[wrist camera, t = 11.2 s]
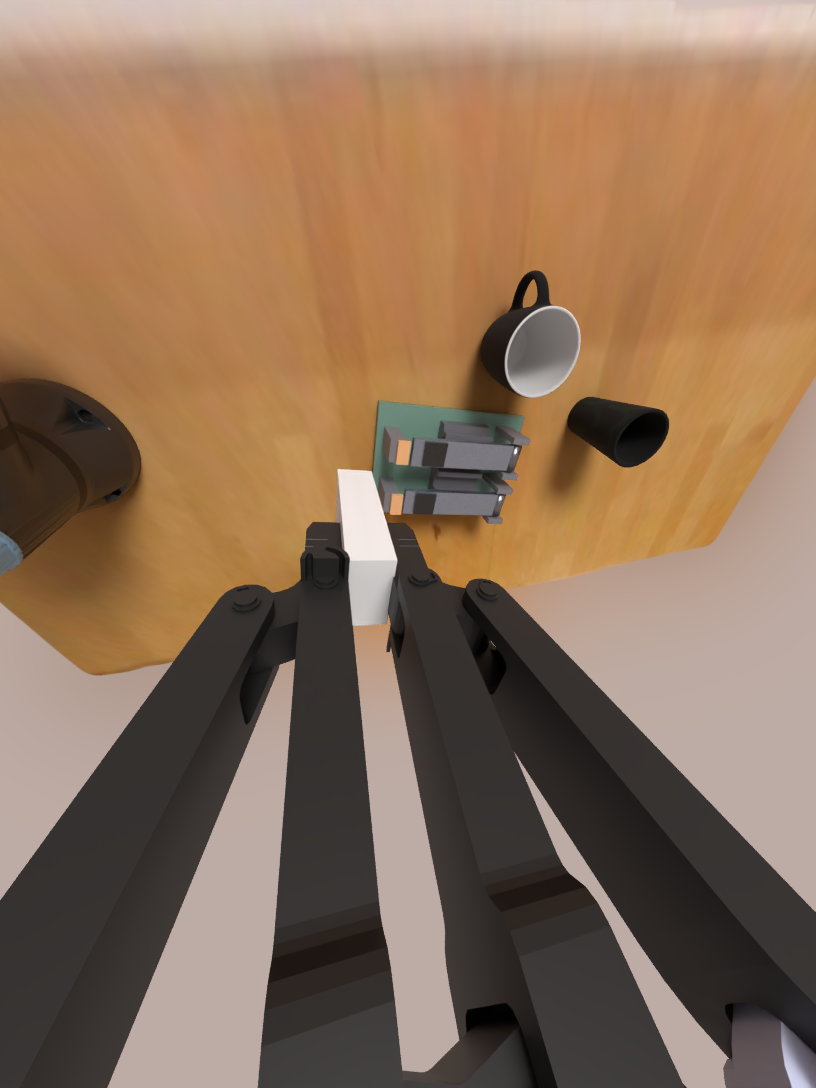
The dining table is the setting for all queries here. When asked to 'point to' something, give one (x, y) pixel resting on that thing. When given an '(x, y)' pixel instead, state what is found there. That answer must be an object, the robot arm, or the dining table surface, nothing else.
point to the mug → (532, 343)
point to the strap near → (463, 454)
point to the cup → (619, 429)
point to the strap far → (451, 502)
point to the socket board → (428, 429)
